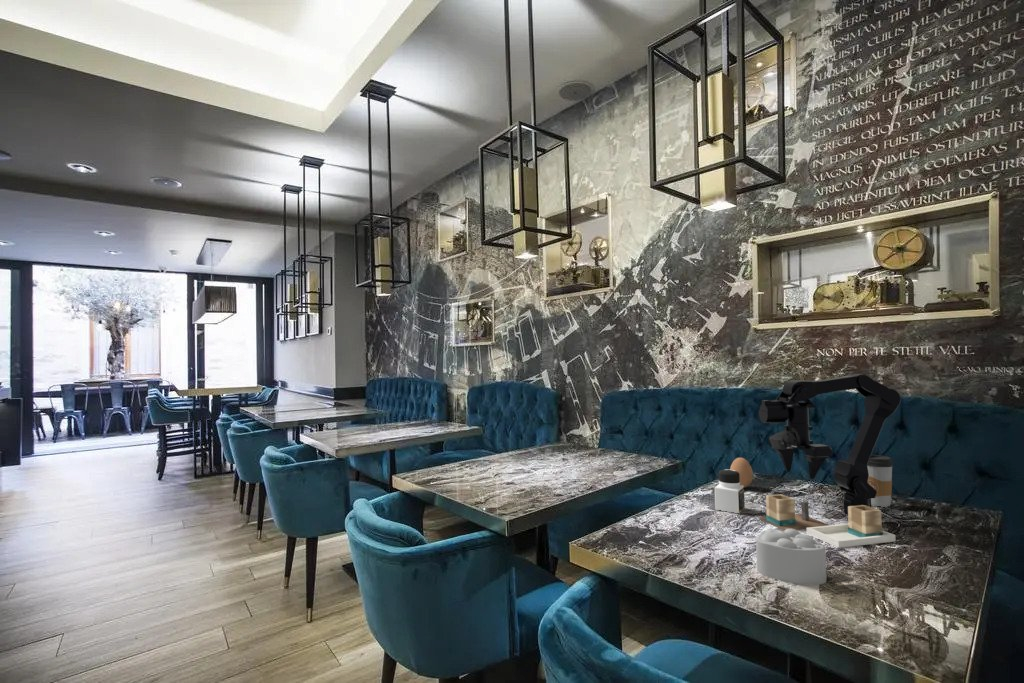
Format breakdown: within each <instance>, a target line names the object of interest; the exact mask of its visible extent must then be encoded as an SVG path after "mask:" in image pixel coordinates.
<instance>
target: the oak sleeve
mask: <svg viewBox="0 0 1024 683" xmlns="http://www.w3.org/2000/svg"><path fill="white" fill-rule="evenodd" d="M795 500H796V499H795V498H793V497H790V496H787V495H785V494H782V493H780V494H768V495H767V494H766V495H765V501H766V502H765V504H766V505H765V508H766V509H765V510H766V515H765V517H766V520H767V521H769V522H771V523H773V524H776V525H778V526H788V525H796V519H795V514H796V506H795V505H796V503H795Z"/></svg>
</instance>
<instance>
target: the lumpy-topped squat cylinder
mask: <svg viewBox="0 0 1024 683" xmlns="http://www.w3.org/2000/svg"><path fill="white" fill-rule="evenodd" d="M755 543H756V545H755V548H756V549H755V550H756V571H757V573H758V572H759V573H758V574H760V575H762V576H764V577H766V578H770V579H773V578H774V580H777V581H782V582H786V583H790V584H796V585H803V586H804V585H807V586H811V585H812V586H816V585H823V584H825V583H827V581H828V580H827V578H828V577H827V560H826V559H827V557H826V556H827V555H826V547H825V545H824V544H823V543H821V542H819V541H818V540H816V539H814V538H813V537H812V536H811V535H809V534H806V533H805V534H804V533H801V532H799V530H795V529H786V530H781V529H780V530H779V529H777V528H768V529H767V530H762V531H760V534H759V535H758V536H756V538H755Z"/></svg>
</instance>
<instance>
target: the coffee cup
mask: <svg viewBox="0 0 1024 683" xmlns="http://www.w3.org/2000/svg"><path fill="white" fill-rule="evenodd" d="M867 467H868V473H869V477H868V482H867V483H868V484H869V485H871V486H872V487H873V488H874V489H875V490H876V491H877V493H876V496H875V498H871V505H874V506H873V507H875V506H881V507H880V508H883V507H885V508H888V507H887V506H889V507H890V506H891V504H892V491H893V480H892V479H893V467H894V466H893V461H892V460H891V457H889V456H886V455H878V454H877V455H876V454H871V456H870V458H869V461H868V464H867Z"/></svg>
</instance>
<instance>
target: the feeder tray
mask: <svg viewBox="0 0 1024 683" xmlns="http://www.w3.org/2000/svg"><path fill="white" fill-rule="evenodd" d="M848 527H849V523H848V522H847V523H839V524H832V525H831V524H828V526H818V527H808V528H806V529H805V530H806V535H808V536H810V537H812V538H813V537H814V538H816V539H818V540H820V541H822V542H825V543H827V544H830V545H832V546H833V547H836V548H839V549H840V548H848V547H857V546H865V545H875V544H883V543H892V542H896V541H897V539H896V534H894V533H892V532H891V533H890V532H888V531H886V530H883V529H882V532H883V535H878V536H869V537H857V536H855V535H852V534H850V533H848Z"/></svg>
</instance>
